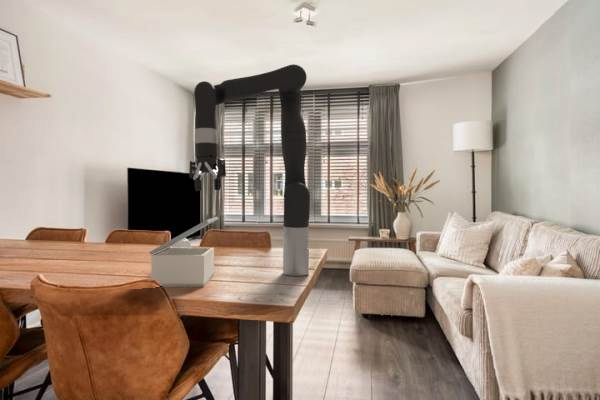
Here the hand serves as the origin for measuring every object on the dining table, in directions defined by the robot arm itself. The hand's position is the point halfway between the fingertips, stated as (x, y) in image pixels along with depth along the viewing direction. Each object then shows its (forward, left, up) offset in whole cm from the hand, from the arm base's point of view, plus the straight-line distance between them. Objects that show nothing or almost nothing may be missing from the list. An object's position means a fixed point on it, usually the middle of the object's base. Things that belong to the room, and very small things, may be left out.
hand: (207, 190), depth 122 cm
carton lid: (+6, +4, -15) cm, 17 cm away
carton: (+6, +4, -30) cm, 31 cm away
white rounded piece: (+12, -13, -30) cm, 35 cm away
